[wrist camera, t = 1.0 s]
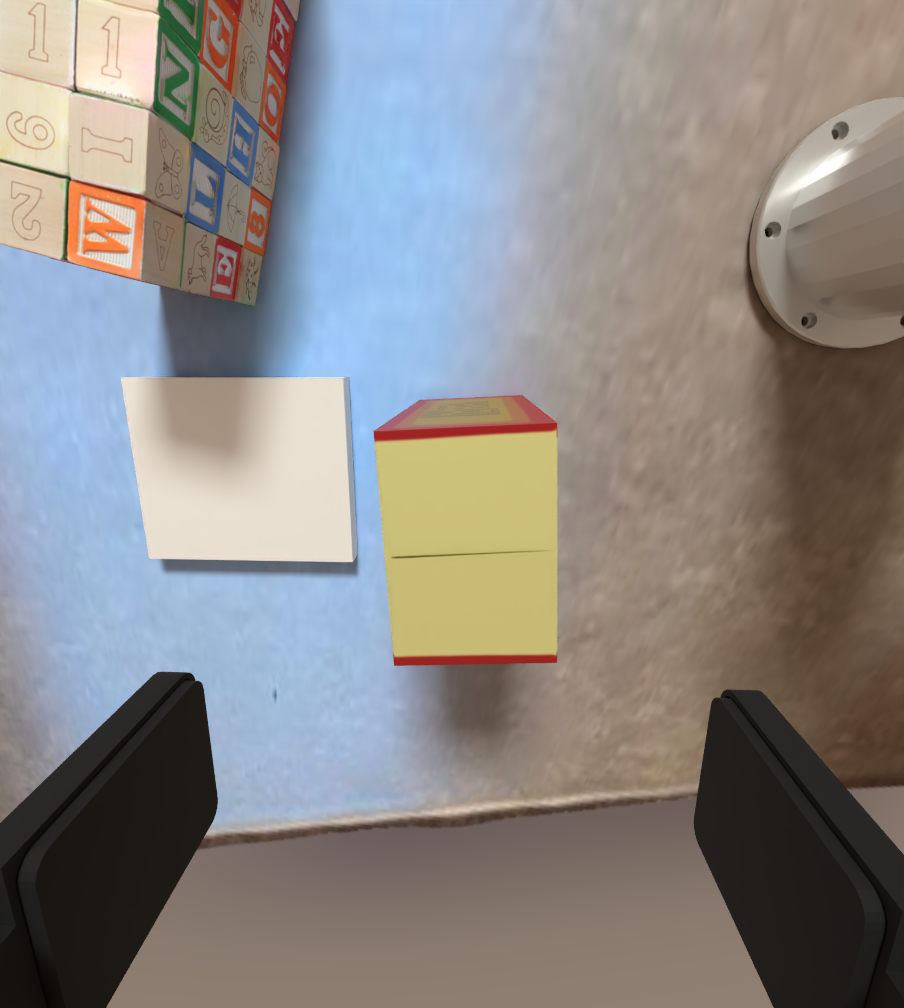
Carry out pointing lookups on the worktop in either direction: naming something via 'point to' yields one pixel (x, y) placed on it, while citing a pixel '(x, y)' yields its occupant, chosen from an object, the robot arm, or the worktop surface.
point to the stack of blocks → (144, 136)
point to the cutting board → (244, 467)
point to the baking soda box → (470, 531)
